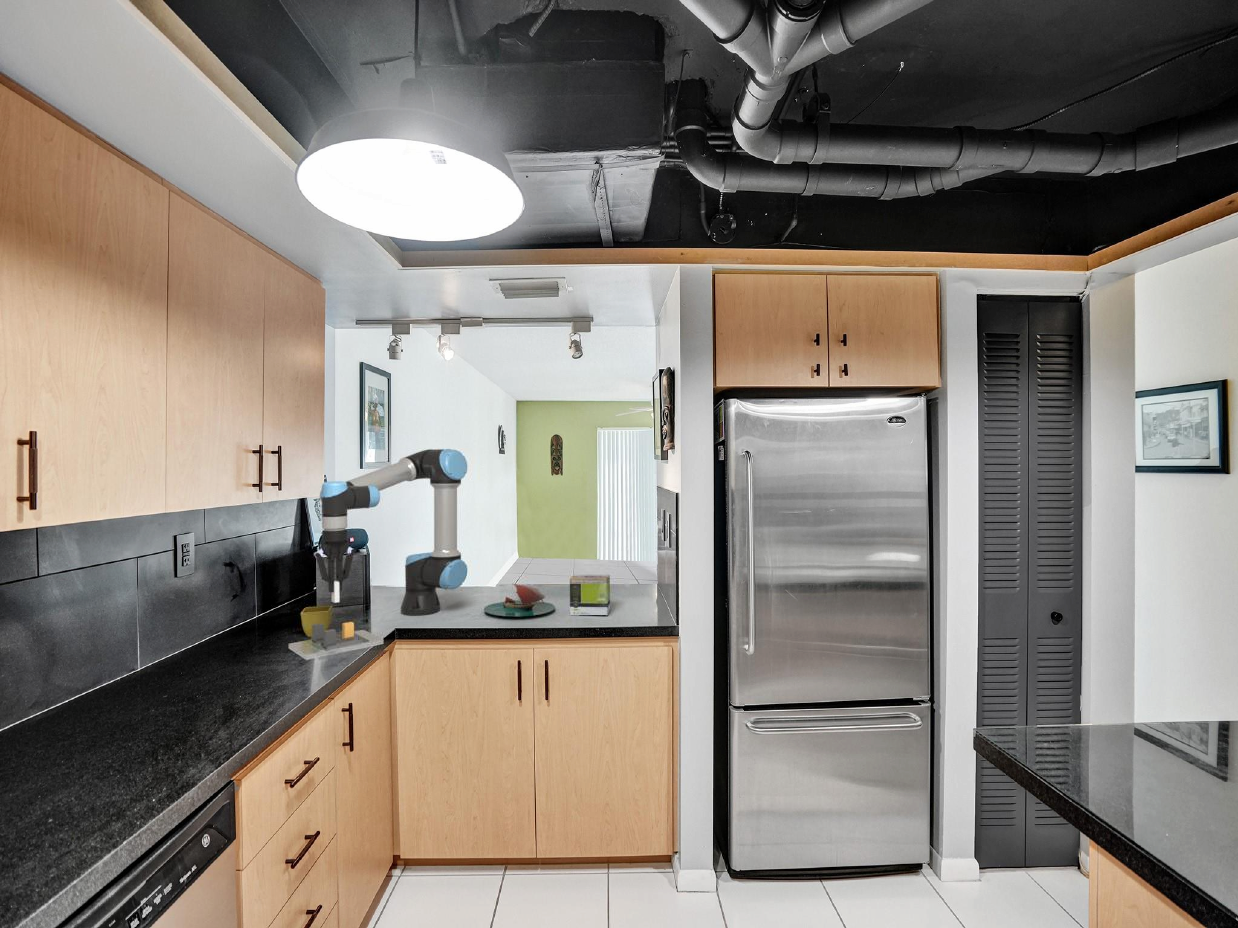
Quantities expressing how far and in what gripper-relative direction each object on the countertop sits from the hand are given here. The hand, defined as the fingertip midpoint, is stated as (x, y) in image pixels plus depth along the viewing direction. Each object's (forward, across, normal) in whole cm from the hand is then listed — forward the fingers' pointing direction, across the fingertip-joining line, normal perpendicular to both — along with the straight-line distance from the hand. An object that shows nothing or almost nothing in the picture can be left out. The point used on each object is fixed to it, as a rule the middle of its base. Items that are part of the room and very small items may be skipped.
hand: (335, 601), depth 204 cm
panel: (+15, 0, 0) cm, 15 cm away
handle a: (+13, +4, -5) cm, 14 cm away
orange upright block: (+13, -4, 0) cm, 13 cm away
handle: (+13, +4, +5) cm, 14 cm away
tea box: (+16, -89, +24) cm, 94 cm away
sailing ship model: (+16, -70, +3) cm, 72 cm away
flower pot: (+15, 0, -18) cm, 23 cm away
